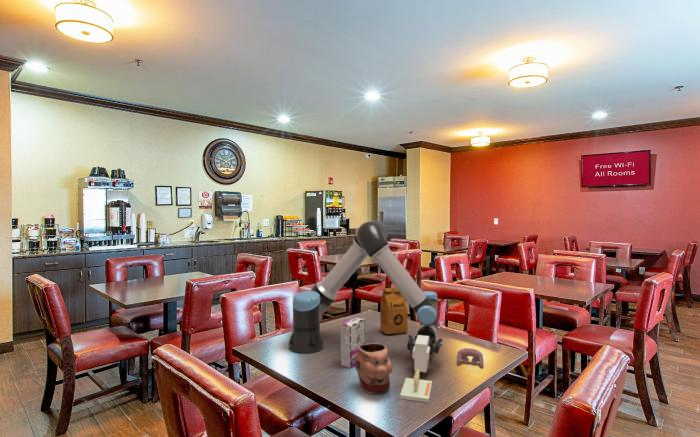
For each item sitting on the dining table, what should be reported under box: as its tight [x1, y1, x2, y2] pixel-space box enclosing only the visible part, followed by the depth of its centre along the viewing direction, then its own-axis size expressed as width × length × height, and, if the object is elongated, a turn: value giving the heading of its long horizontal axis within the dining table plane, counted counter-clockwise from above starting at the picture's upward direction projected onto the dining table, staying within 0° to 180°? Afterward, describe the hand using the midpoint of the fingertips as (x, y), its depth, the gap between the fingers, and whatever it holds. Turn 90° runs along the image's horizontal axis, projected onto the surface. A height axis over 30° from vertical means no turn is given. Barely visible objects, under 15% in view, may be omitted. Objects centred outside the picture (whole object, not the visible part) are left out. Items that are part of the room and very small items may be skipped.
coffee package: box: [379, 287, 409, 335], centre depth 190 cm, size 10×12×22 cm
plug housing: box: [413, 335, 430, 373], centre depth 144 cm, size 10×4×10 cm, turn 163°
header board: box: [399, 369, 433, 403], centre depth 130 cm, size 9×13×6 cm
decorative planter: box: [354, 342, 394, 395], centre depth 133 cm, size 20×12×14 cm, turn 23°
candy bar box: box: [339, 316, 366, 369], centre depth 153 cm, size 11×5×16 cm, turn 148°
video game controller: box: [456, 347, 484, 369], centre depth 152 cm, size 10×5×7 cm, turn 72°
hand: (420, 355), depth 139 cm, fingers closed on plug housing, 4 cm apart
